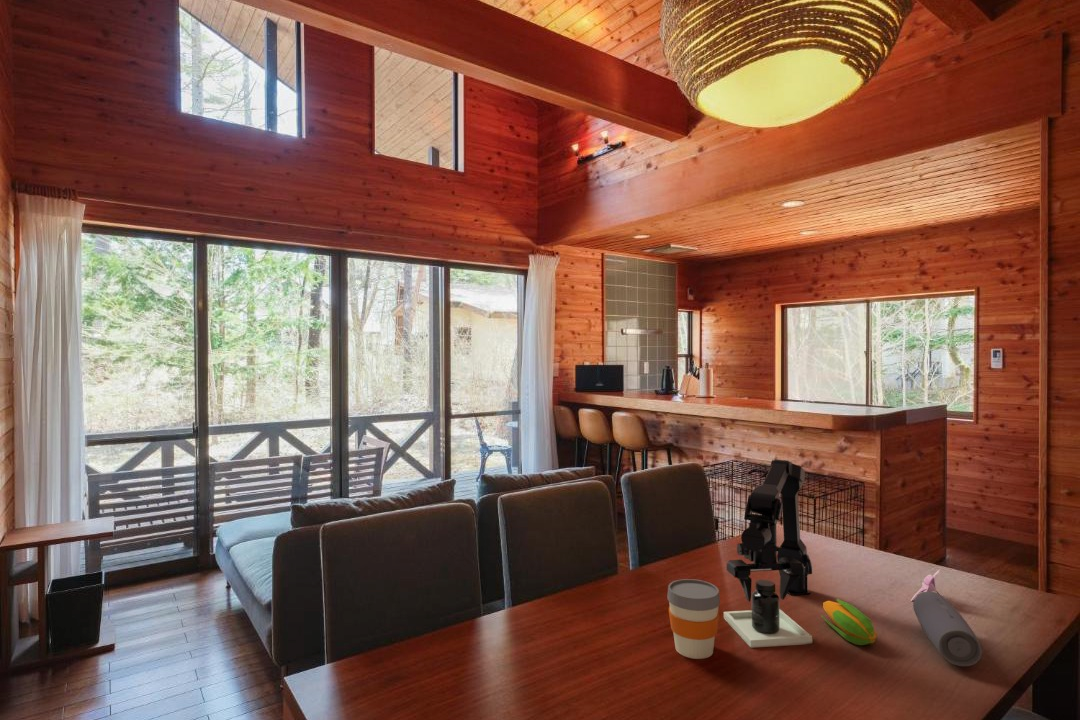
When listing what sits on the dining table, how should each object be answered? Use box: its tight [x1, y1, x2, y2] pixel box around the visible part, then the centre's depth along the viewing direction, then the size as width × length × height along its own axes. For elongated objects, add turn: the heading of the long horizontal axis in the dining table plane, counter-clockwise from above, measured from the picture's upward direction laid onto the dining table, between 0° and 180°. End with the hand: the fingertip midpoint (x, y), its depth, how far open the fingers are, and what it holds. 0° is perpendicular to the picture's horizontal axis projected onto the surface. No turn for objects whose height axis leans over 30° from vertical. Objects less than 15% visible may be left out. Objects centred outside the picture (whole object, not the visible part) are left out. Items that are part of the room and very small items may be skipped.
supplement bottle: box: [751, 579, 780, 634], centre depth 151 cm, size 7×7×12 cm
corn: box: [820, 598, 878, 646], centre depth 149 cm, size 7×8×20 cm
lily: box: [910, 568, 941, 602], centre depth 167 cm, size 12×12×10 cm
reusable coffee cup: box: [666, 578, 721, 660], centre depth 141 cm, size 13×13×15 cm
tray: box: [723, 608, 813, 649], centre depth 151 cm, size 16×16×2 cm
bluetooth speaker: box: [912, 591, 983, 667], centre depth 140 cm, size 23×9×10 cm, turn 160°
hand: (765, 599), depth 150 cm, fingers open, 9 cm apart
